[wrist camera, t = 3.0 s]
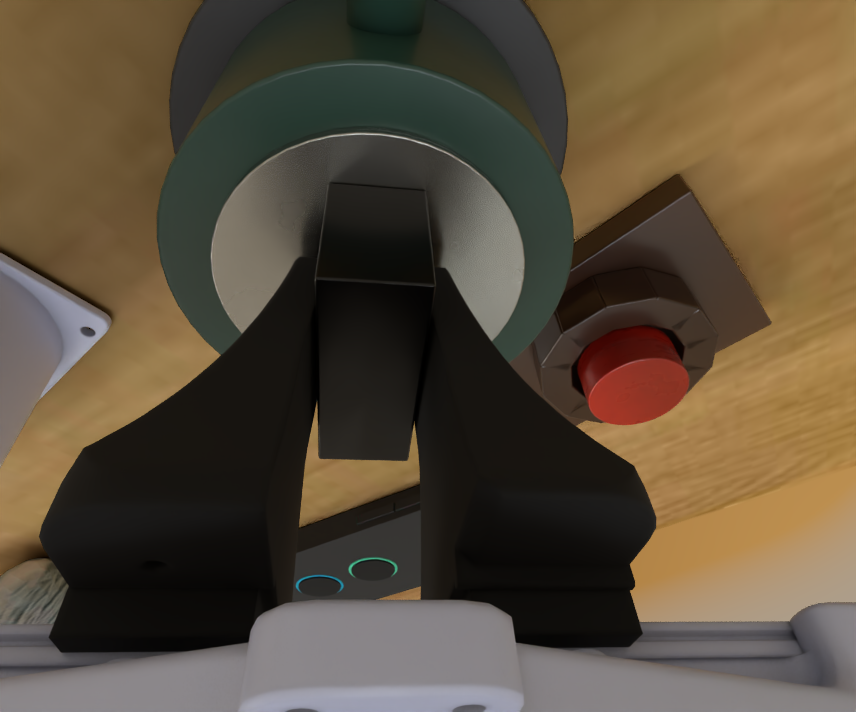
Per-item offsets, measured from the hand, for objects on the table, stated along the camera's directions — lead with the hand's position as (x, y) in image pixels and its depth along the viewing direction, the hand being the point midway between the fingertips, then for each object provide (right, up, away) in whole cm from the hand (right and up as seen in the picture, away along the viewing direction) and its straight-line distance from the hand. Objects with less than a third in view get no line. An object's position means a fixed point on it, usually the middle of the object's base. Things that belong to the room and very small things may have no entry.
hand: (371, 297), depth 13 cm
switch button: (+9, -1, +9) cm, 13 cm away
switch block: (+9, 0, +11) cm, 14 cm away
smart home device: (-2, -13, +23) cm, 27 cm away
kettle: (0, +5, +4) cm, 6 cm away
